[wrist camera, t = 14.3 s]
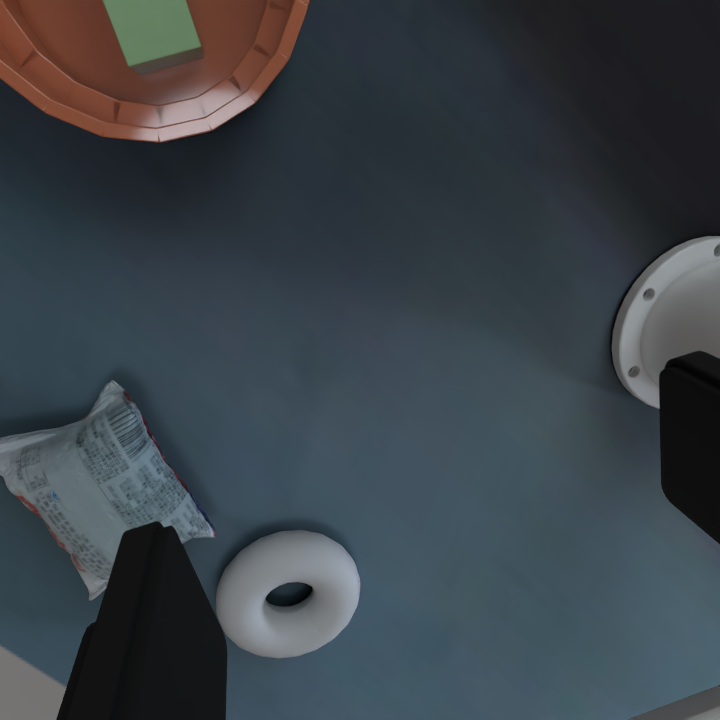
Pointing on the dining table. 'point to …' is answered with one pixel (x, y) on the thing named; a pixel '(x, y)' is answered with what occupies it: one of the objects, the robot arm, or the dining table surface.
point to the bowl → (152, 90)
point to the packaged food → (99, 484)
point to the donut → (280, 566)
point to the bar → (154, 33)
